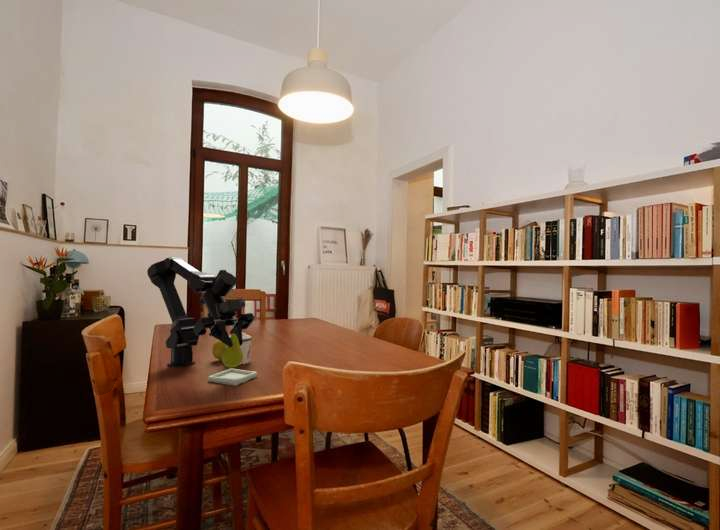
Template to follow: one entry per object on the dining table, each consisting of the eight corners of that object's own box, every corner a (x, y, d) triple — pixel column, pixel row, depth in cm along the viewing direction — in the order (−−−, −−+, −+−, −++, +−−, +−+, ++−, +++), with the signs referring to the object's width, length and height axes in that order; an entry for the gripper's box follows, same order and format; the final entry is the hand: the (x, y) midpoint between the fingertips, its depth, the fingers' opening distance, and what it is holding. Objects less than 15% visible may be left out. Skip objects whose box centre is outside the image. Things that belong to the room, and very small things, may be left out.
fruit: (219, 365, 114) (221, 326, 114) (240, 363, 117) (241, 325, 117) (223, 370, 109) (224, 329, 108) (245, 368, 112) (246, 328, 112)
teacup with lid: (253, 364, 131) (254, 331, 131) (226, 366, 127) (227, 332, 127) (246, 356, 142) (247, 326, 142) (221, 358, 137) (222, 327, 138)
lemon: (222, 363, 131) (223, 340, 131) (208, 361, 132) (209, 339, 132) (231, 359, 137) (231, 337, 137) (217, 358, 138) (218, 336, 138)
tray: (208, 381, 110) (208, 376, 110) (231, 372, 119) (231, 368, 119) (235, 385, 106) (235, 380, 106) (256, 376, 116) (257, 372, 116)
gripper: (200, 290, 108) (221, 333, 101) (252, 288, 123) (273, 325, 117) (184, 314, 112) (203, 356, 106) (236, 309, 128) (256, 346, 121)
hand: (236, 345), depth 112 cm, fingers closed on fruit, 3 cm apart
